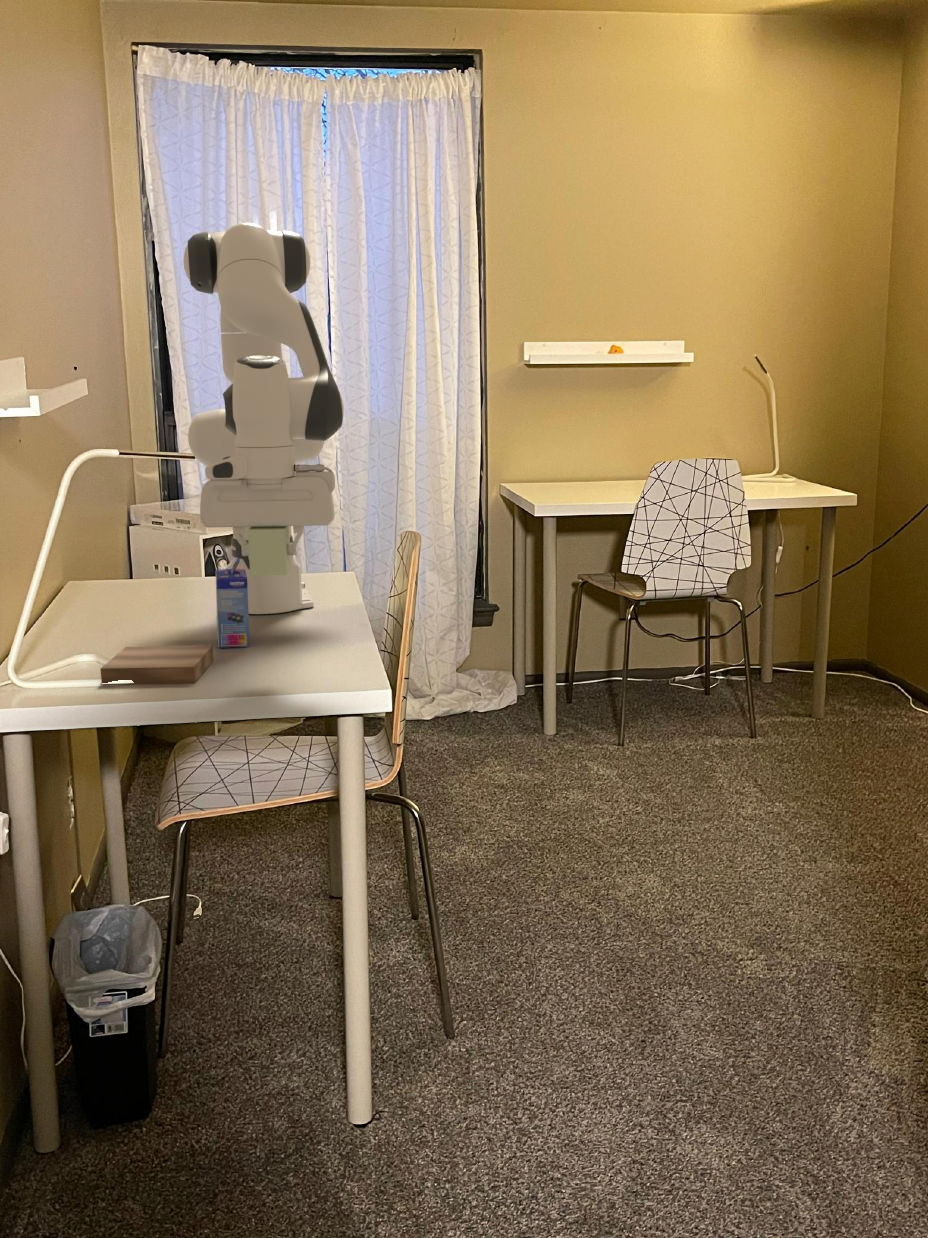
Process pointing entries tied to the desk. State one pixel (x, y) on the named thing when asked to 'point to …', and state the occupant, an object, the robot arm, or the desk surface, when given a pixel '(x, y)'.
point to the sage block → (269, 550)
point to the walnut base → (158, 664)
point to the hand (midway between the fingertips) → (270, 555)
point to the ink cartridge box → (232, 607)
